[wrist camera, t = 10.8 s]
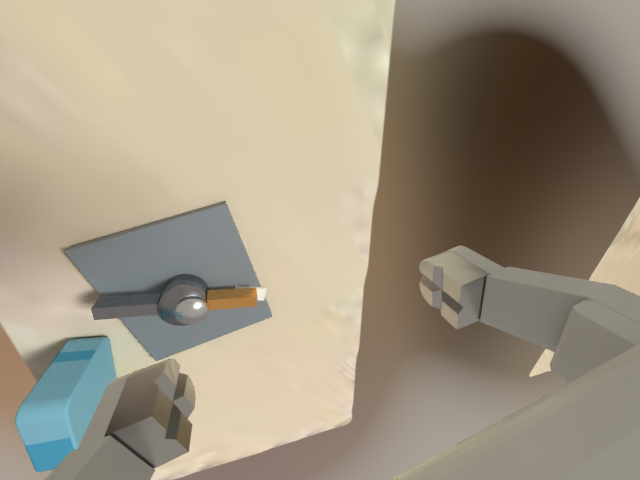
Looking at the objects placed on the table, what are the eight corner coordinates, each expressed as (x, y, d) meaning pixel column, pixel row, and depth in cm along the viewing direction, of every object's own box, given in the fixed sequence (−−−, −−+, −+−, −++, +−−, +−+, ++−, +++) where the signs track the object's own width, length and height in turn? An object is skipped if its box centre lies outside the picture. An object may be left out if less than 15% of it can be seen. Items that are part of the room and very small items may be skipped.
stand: (70, 246, 32) (60, 254, 30) (232, 199, 36) (232, 203, 34) (158, 354, 43) (154, 364, 41) (276, 309, 47) (277, 317, 45)
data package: (71, 334, 37) (10, 417, 27) (108, 331, 39) (64, 409, 28) (85, 389, 42) (37, 478, 31) (118, 385, 43) (83, 468, 33)
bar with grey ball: (109, 313, 36) (93, 340, 31) (101, 277, 33) (81, 301, 29) (254, 302, 42) (257, 323, 38) (255, 271, 40) (258, 290, 36)
